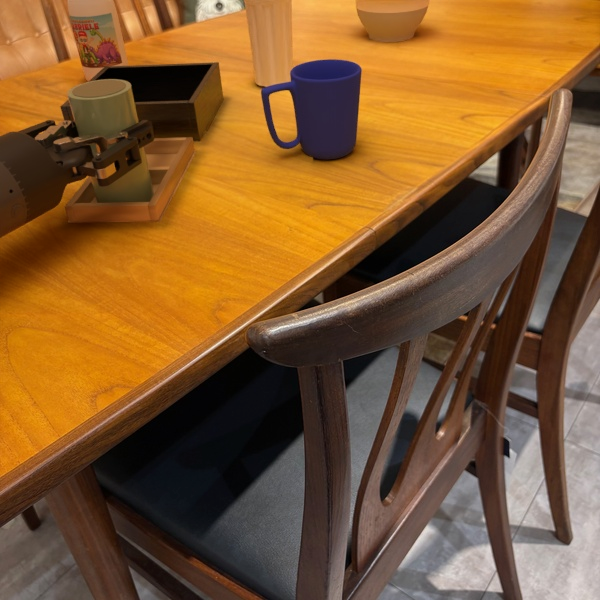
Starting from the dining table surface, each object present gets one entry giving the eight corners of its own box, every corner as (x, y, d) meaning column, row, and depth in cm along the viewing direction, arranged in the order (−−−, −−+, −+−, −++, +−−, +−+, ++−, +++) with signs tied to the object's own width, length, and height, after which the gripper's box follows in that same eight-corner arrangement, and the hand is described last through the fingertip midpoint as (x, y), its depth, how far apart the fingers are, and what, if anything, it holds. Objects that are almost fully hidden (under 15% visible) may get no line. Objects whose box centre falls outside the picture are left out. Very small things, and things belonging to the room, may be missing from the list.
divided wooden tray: (68, 226, 64) (62, 206, 63) (121, 156, 79) (116, 139, 77) (161, 224, 63) (156, 205, 62) (197, 154, 78) (194, 137, 76)
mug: (257, 153, 77) (248, 72, 71) (343, 134, 80) (341, 55, 75) (281, 178, 71) (274, 91, 65) (373, 156, 74) (374, 72, 68)
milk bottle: (96, 71, 111) (65, -55, 99) (137, 71, 110) (110, -57, 98) (78, 85, 105) (42, -48, 93) (121, 85, 103) (90, -50, 92)
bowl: (450, 35, 117) (454, -15, 112) (386, 52, 110) (388, 0, 105) (394, 22, 128) (396, -24, 123) (333, 36, 121) (332, -11, 116)
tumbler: (89, 212, 65) (56, 99, 58) (108, 186, 70) (80, 79, 63) (145, 211, 65) (119, 97, 57) (160, 185, 70) (138, 77, 62)
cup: (259, 94, 95) (249, -7, 87) (243, 80, 102) (233, -15, 93) (307, 85, 98) (302, -14, 89) (289, 72, 104) (283, -22, 95)
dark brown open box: (72, 147, 82) (59, 106, 79) (113, 103, 96) (104, 66, 93) (200, 144, 80) (193, 102, 77) (223, 99, 94) (218, 62, 91)
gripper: (35, 164, 48) (172, 97, 59) (-76, 136, 54) (68, 81, 65) (62, 246, 52) (185, 169, 64) (-43, 212, 59) (86, 147, 70)
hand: (125, 124), depth 64 cm, fingers closed on tumbler, 6 cm apart
